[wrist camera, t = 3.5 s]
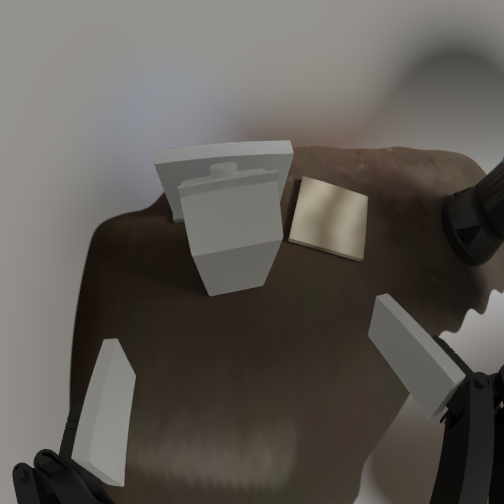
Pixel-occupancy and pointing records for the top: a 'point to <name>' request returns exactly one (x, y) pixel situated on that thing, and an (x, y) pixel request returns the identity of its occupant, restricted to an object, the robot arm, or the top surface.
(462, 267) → the top surface
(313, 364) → the top surface
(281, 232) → the milk carton
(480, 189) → the robot arm
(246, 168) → the grey screen
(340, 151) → the top surface
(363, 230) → the birch board
